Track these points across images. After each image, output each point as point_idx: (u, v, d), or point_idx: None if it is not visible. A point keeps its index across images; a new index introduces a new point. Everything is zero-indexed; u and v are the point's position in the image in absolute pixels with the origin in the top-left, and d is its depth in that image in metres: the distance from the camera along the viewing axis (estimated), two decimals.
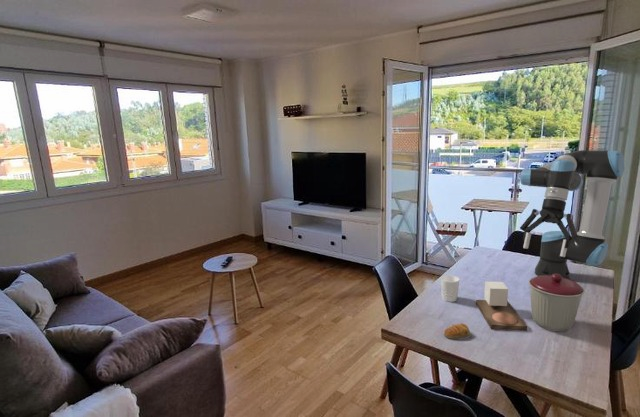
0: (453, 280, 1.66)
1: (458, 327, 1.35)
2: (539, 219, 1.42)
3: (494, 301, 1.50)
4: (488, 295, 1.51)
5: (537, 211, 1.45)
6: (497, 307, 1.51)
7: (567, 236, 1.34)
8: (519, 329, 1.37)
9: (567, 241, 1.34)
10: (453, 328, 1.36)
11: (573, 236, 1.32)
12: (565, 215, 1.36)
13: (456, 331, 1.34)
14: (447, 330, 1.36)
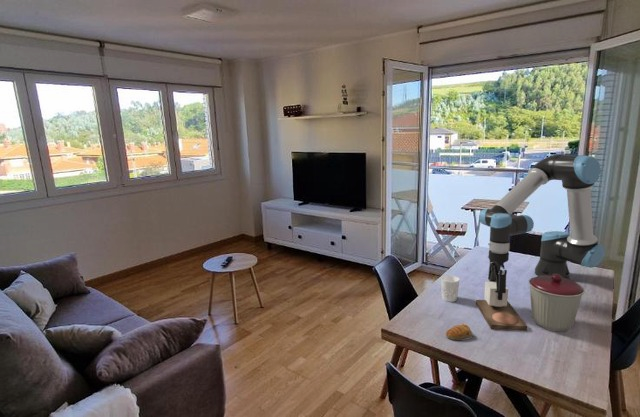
0: (453, 280, 1.66)
1: (460, 328, 1.35)
2: (491, 269, 1.53)
3: (494, 301, 1.50)
4: (488, 295, 1.51)
5: (492, 260, 1.55)
6: (497, 307, 1.51)
7: (497, 289, 1.47)
8: (519, 329, 1.37)
9: (498, 293, 1.48)
10: (455, 329, 1.35)
11: (498, 290, 1.45)
12: (500, 269, 1.45)
13: (458, 332, 1.33)
14: (449, 331, 1.35)
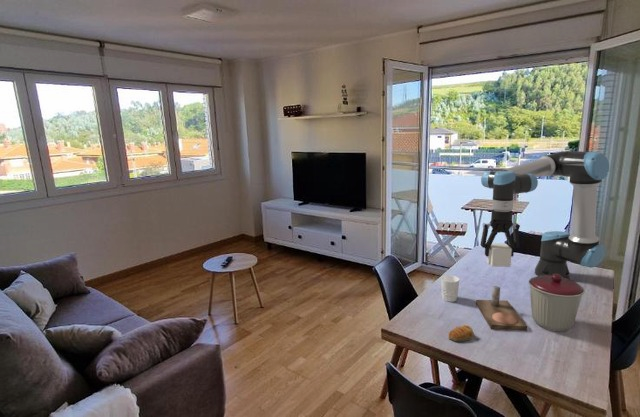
0: (453, 280, 1.66)
1: (462, 329, 1.34)
2: (495, 233, 1.45)
3: None
4: (506, 258, 1.45)
5: (488, 225, 1.46)
6: (497, 307, 1.51)
7: (512, 246, 1.46)
8: (519, 329, 1.37)
9: None
10: (457, 330, 1.34)
11: (517, 245, 1.45)
12: (514, 225, 1.44)
13: (461, 333, 1.32)
14: (451, 333, 1.34)
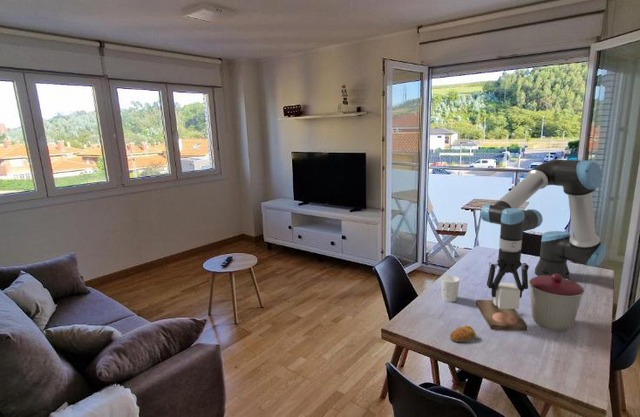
0: (453, 280, 1.66)
1: (464, 330, 1.33)
2: (503, 273, 1.37)
3: None
4: (514, 300, 1.37)
5: (495, 265, 1.38)
6: (497, 307, 1.51)
7: (521, 287, 1.38)
8: (519, 329, 1.37)
9: (520, 291, 1.39)
10: (459, 331, 1.33)
11: (526, 286, 1.37)
12: (522, 265, 1.36)
13: (462, 334, 1.32)
14: (453, 333, 1.33)
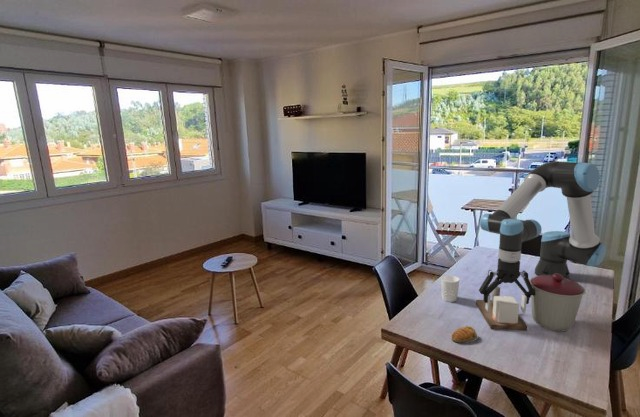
0: (453, 280, 1.66)
1: (465, 330, 1.33)
2: (500, 282, 1.38)
3: None
4: (513, 314, 1.38)
5: (494, 273, 1.39)
6: None
7: (527, 294, 1.38)
8: (519, 329, 1.37)
9: (527, 297, 1.39)
10: (460, 332, 1.33)
11: (533, 293, 1.37)
12: (522, 274, 1.37)
13: (464, 335, 1.32)
14: (454, 334, 1.33)
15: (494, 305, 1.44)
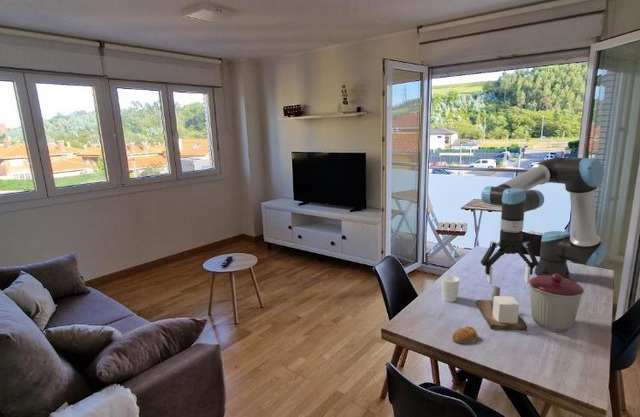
0: (453, 280, 1.66)
1: (466, 331, 1.33)
2: (502, 253, 1.35)
3: None
4: (513, 314, 1.38)
5: (496, 244, 1.36)
6: None
7: (531, 264, 1.35)
8: (519, 329, 1.37)
9: (530, 268, 1.36)
10: (461, 332, 1.33)
11: (536, 263, 1.35)
12: (524, 244, 1.35)
13: (465, 335, 1.31)
14: (455, 335, 1.33)
15: (494, 305, 1.44)
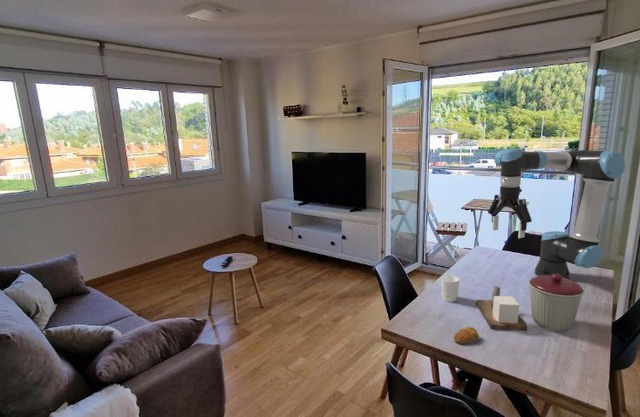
0: (453, 280, 1.66)
1: (467, 331, 1.33)
2: (499, 205, 1.56)
3: None
4: (513, 314, 1.38)
5: (498, 196, 1.58)
6: None
7: (521, 220, 1.48)
8: (519, 329, 1.37)
9: (522, 224, 1.48)
10: (462, 333, 1.32)
11: (525, 220, 1.46)
12: (518, 200, 1.48)
13: (466, 336, 1.31)
14: (457, 335, 1.32)
15: (494, 305, 1.44)
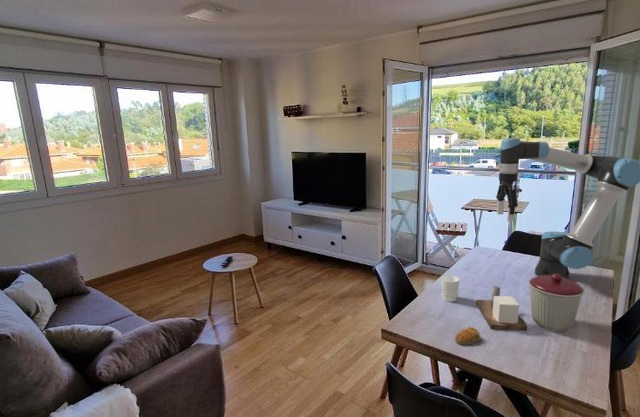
0: (453, 280, 1.66)
1: (468, 332, 1.32)
2: (500, 190, 1.69)
3: None
4: (513, 314, 1.38)
5: None
6: None
7: (509, 204, 1.60)
8: (519, 329, 1.37)
9: (510, 208, 1.60)
10: (464, 333, 1.32)
11: (511, 204, 1.58)
12: None
13: (468, 336, 1.31)
14: (458, 336, 1.32)
15: (494, 305, 1.44)
